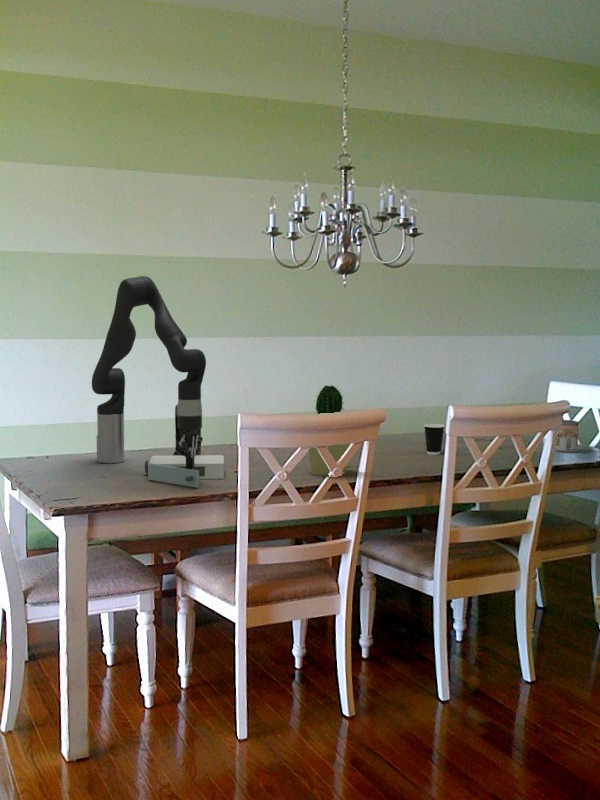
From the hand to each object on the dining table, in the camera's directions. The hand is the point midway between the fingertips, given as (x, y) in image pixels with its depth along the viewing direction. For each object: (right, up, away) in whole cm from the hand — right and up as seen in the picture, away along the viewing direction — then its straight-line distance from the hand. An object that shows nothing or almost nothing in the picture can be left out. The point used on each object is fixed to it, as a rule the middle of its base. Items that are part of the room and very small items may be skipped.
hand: (190, 468), depth 271 cm
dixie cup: (+85, +1, +61) cm, 105 cm away
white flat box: (-3, -3, +16) cm, 16 cm away
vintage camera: (-6, -1, +41) cm, 42 cm away
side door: (-6, -4, -1) cm, 7 cm away
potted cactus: (+44, -3, +21) cm, 49 cm away
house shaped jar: (+139, +1, +70) cm, 155 cm away
